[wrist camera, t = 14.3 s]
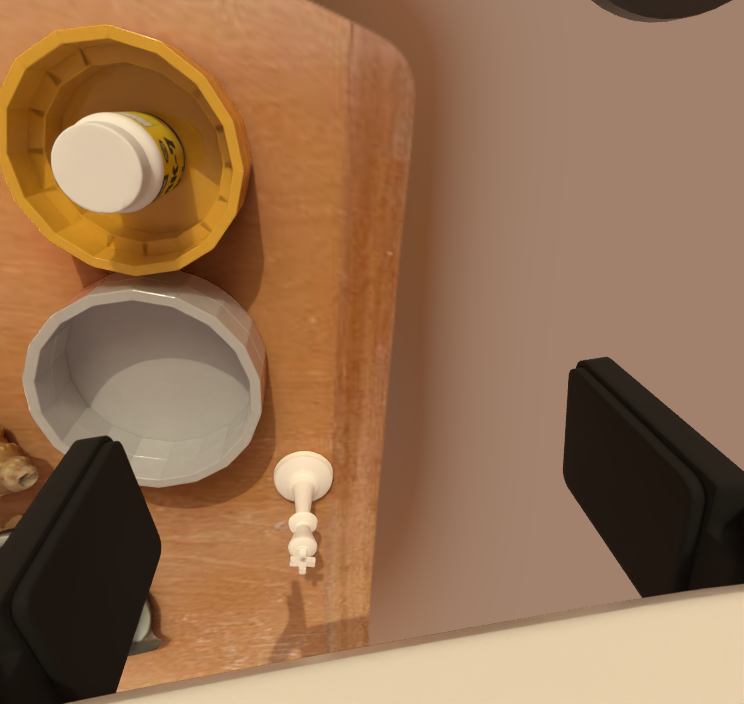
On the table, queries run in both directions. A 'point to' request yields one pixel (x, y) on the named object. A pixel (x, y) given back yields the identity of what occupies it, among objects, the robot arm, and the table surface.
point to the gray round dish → (150, 374)
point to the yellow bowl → (123, 94)
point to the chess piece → (303, 500)
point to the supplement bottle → (118, 161)
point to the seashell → (14, 468)
